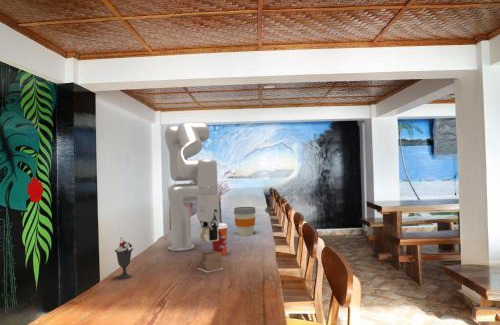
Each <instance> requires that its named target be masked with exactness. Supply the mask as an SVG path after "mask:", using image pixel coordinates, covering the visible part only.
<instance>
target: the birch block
mask: <svg viewBox="0 0 500 325" xmlns="http://www.w3.org/2000/svg"><path fill="white" fill-rule="evenodd" d="M199 230H200V232H199V233H200V234H199V235H200V241H201V242H204V243H211V242H212V241H218V240H219V235H218V229H217V237H218V239H217V240H212V241H210V237H209V230H210V226H207V227H201V226H200V229H199Z"/></svg>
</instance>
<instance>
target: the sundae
mask: <svg viewBox="0 0 500 325" xmlns="http://www.w3.org/2000/svg"><path fill="white" fill-rule="evenodd" d="M119 239H120V240H122V241H120V243H119V244H118V245H119V246H117V248H116V249H114V252H115V253H116V258H117V259H116V260H117V263H118V266H120V268H122V274H121V275H118V276H117V279H119V280H126V279H130V278H132V274H128V273H127V268H128V267H129V265H130V263H131V260H132V259H131V257H132V256H131V255H132V252H133V250H134V248H133V244H132V243H130V242H127V241H126V240H123V238H122V237H120V238H119Z"/></svg>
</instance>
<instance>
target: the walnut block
mask: <svg viewBox="0 0 500 325" xmlns="http://www.w3.org/2000/svg"><path fill="white" fill-rule="evenodd" d="M221 257H222V256H221V253H219V252H216V251H213V249H212V250H207V251H202V252H199V268H200V269H202V270H205V271H207V272H208V273H210V272H209V271H212V272H214V271H213V270H216V271H219V270H218V269H220V270H222V269H221V268H222V258H221ZM200 269H199V270H200ZM202 270H201V271H202ZM205 271H204V272H205ZM207 272H206V273H207Z"/></svg>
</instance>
